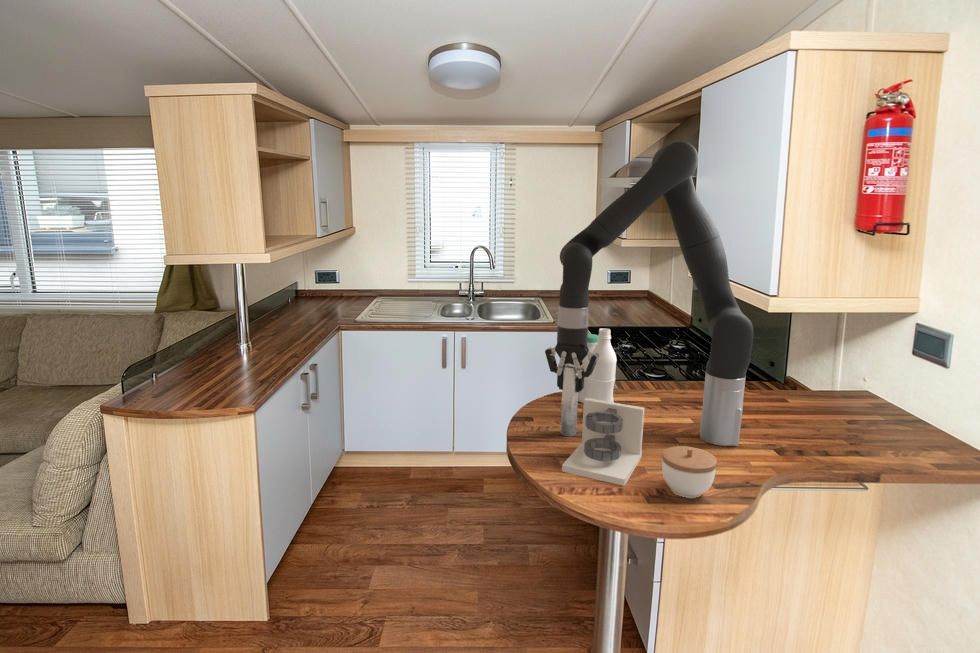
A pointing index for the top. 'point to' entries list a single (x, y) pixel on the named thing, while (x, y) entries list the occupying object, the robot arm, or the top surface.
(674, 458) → the lidded jar
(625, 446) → the tube holder
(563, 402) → the steel tube
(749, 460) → the top surface
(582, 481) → the top surface
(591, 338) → the milk bottle
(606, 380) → the water bottle
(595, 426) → the collars
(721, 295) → the robot arm
